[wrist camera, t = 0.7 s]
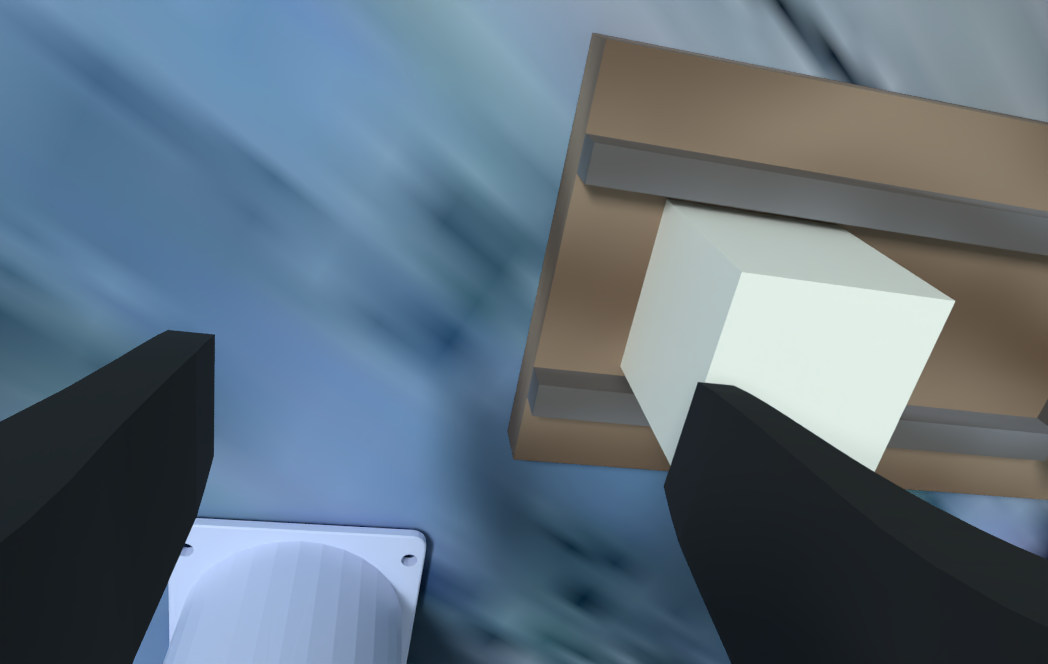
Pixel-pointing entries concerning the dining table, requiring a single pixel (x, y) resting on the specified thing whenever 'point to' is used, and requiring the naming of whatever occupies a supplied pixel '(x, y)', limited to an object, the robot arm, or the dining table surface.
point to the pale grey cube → (780, 325)
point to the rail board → (807, 194)
